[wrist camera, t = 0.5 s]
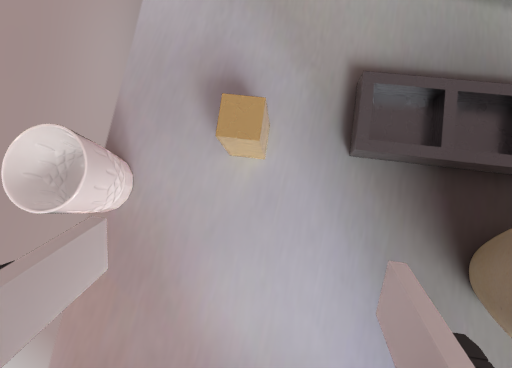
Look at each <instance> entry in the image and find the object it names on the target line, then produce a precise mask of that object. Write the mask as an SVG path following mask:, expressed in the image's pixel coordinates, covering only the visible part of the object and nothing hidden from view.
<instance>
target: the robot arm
mask: <svg viewBox="0 0 512 368" xmlns="http://www.w3.org/2000/svg"><path fill="white" fill-rule="evenodd" d="M107 270H108V248H107V218H102V217H96V216H91V217H89V218H87V219H86V220H84V221H82V222H80V223H79V224H77V225H75V226H74V227H72V228H70V229H69V230H67V231H65V232H63V233H62V234H60V235H58V236H57V237H55V238H53V239H52V240H50V241H48V242H46V243H45V244H43V245H42V246H40V247H38V248H36V249H35V250H33V251H31V252H29V253H28V254H26V255H24V256H23V257H21V258H19V259H17V260H16V261H12V262H9V263H6V264H3V265H0V368H2V367H3V366H4V365H5V364H6V363H7V362H8V361H9V360H10V359H11V358H12V357H14V356H15V355H16V354H17V353H18V352H19V351H20V350H21V349H22V348H23V347H24V346H25V345H26V344H28V343H29V342H30V341H31V340H32V339H33V338H34V337H35V336H36V335H37V334H38V333H39V332H41V331H42V330H43V329H44V328H45V327H46V326H47V325H48V324H49V323H50V322H51V321H52V320H54V319H55V318H56V317H57V316H58V315H59V314H60V313H61V312H62V311H63V310H64V309H66V308H67V307H68V306H69V305H70V304H71V303H72V302H73V301H74V300H75V299H76V298H77V297H79V296H80V295H81V294H82V293H83V292H84V291H85V290H86V289H87V288H88V287H89V286H90V285H92V284H93V283H94V282H95V281H96V280H97V279H98V278H99V277H100V276H101V275H102V274H104V273H105V272H106V271H107ZM376 316H377V318H378V321H379V324H380V326H381V329H382V332H383V335H384V337H385V340H386V343H387V346H388V348H389V351H390V354H391V357H392V359H393V362H394V365H395V367H396V368H494V367H493V365H492V364H491V363H490V362H488V359H487V357H486V356H485V354H484V353H483V352H482V350H481V349H480V348H479V346H477V345H476V344H475V343H474V342H473V341H472V340H470V339H469V338H468V337H467V336H466V335H464V334H458V333H452V332H451V330H450V329H449V327H448V326H447V324H446V323H445V321H444V319H443V318H442V316H441V315H440V313H439V312H438V310H437V309H436V307H435V306H434V304H433V303H432V301H431V300H430V298H429V297H428V295H427V294H426V292H425V291H424V289H423V288H422V286H421V285H420V283H419V282H418V280H417V279H416V277H415V275H414V274H413V272H412V271H411V269H410V268H409V266H408V265H407V263H401V262H394V261H388V265H387V270H386V274H385V278H384V282H383V286H382V290H381V294H380V298H379V302H378V307H377V311H376Z"/></svg>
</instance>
